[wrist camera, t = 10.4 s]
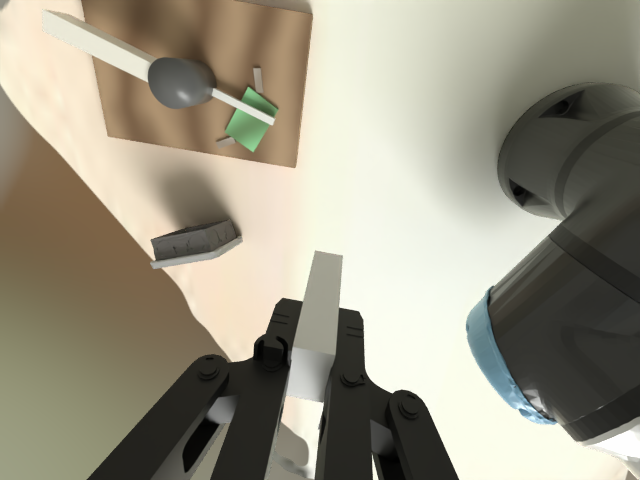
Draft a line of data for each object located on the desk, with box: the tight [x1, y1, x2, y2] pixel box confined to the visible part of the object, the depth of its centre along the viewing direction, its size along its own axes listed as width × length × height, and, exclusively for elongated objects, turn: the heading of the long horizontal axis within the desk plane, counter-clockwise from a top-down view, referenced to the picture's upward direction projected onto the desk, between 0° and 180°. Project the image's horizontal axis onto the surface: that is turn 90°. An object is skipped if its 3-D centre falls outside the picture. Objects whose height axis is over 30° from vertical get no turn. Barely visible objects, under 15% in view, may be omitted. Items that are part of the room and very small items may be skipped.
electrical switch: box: [150, 219, 243, 269], centre depth 41 cm, size 9×5×9 cm, turn 104°
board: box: [81, 0, 313, 168], centre depth 35 cm, size 24×16×2 cm, turn 82°
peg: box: [42, 9, 276, 125], centre depth 31 cm, size 22×4×6 cm, turn 65°
